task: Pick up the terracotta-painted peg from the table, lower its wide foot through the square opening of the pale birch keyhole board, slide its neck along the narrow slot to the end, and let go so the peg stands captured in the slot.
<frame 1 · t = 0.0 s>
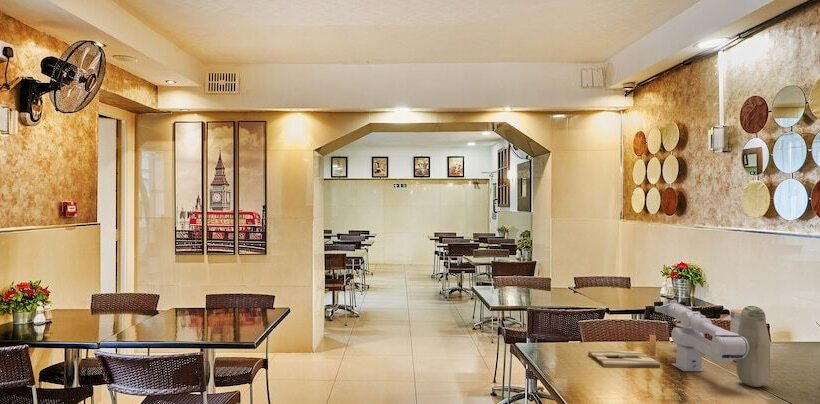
hand: (663, 304, 237), 22 cm above the table, tool horizontal, fingers open, 7 cm apart
keyhole board: (622, 361, 225), on the table
grey bottle: (752, 386, 196), on the table
keyhole peg: (652, 356, 233), on the table
cracker box: (743, 363, 226), on the table
plastic cup: (689, 353, 242), on the table
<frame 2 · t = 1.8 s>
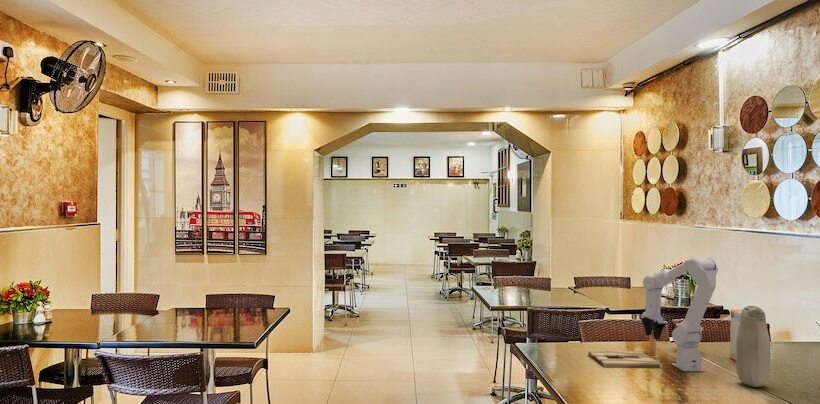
hand: (652, 337, 233), 8 cm above the table, tool pointing down, fingers open, 7 cm apart
nothing on the table moved.
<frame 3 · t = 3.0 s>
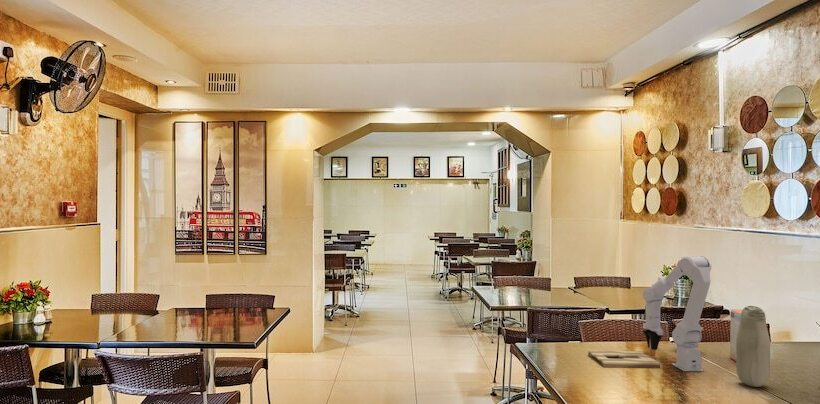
hand: (652, 348, 233), 3 cm above the table, tool pointing down, fingers closed on keyhole peg, 2 cm apart
keyhole peg: (652, 356, 233), on the table, touching gripper
everything else where it was.
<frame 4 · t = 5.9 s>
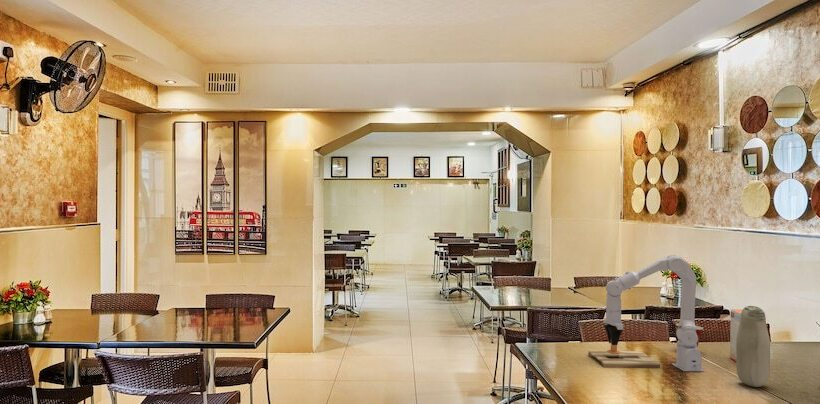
hand: (613, 343, 225), 7 cm above the table, tool pointing down, fingers closed on keyhole peg, 2 cm apart
keyhole peg: (613, 352, 225), point 3 cm above the table, touching gripper
everything else where it was.
when the fingers open (4 cm above the table, at t = 9.0 s): keyhole peg stays where it is, on the table.
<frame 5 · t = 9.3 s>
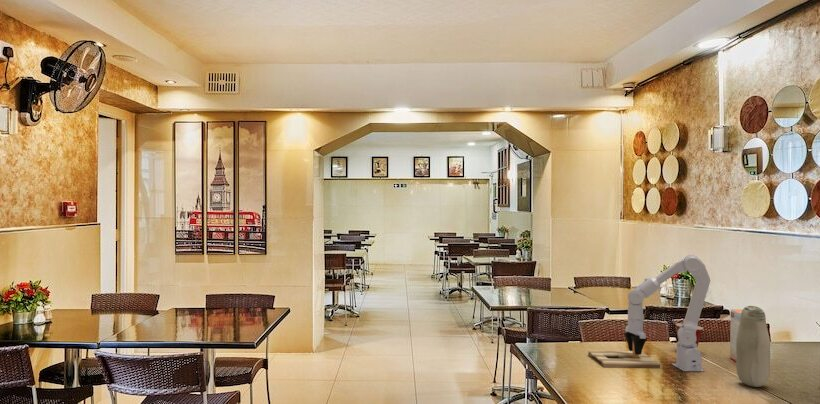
hand: (635, 352, 225), 4 cm above the table, tool pointing down, fingers open, 5 cm apart
keyhole peg: (635, 361, 225), on the table
everything else where it was.
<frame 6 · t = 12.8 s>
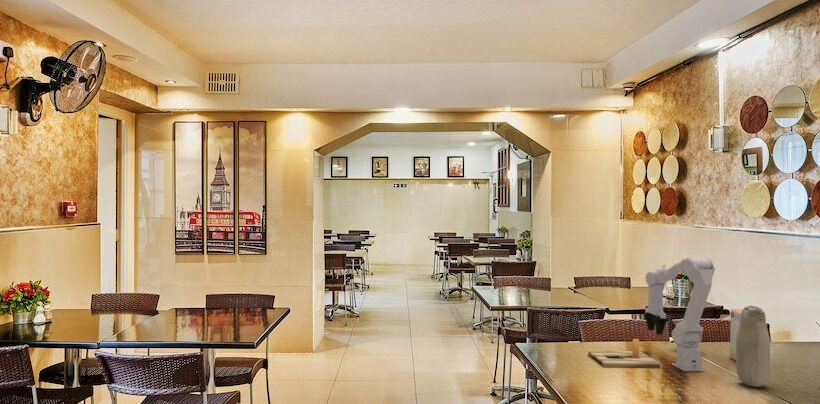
hand: (655, 332, 235), 10 cm above the table, tool pointing down, fingers open, 7 cm apart
nothing on the table moved.
at the end: keyhole peg 0.8 cm from the target spot on the keyhole board, point 0.0 cm above the keyhole board's base; keyhole peg tilted 0°; the gripper is holding nothing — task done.
